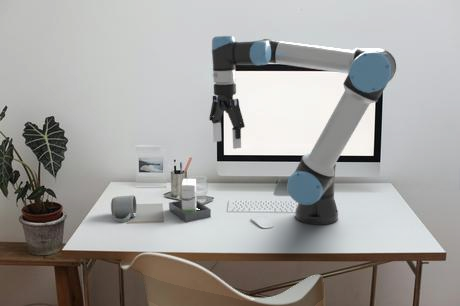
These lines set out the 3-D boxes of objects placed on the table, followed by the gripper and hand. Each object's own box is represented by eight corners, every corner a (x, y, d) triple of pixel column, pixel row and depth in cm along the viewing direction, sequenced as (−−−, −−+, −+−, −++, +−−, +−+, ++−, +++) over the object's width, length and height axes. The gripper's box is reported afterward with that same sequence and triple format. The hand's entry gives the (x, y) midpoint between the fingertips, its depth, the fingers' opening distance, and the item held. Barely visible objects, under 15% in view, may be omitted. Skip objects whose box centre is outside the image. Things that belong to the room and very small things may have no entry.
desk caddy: (193, 205, 216) (193, 198, 215) (210, 217, 204) (210, 209, 203) (169, 210, 211) (169, 202, 210) (185, 222, 199) (185, 214, 198)
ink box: (195, 216, 203) (195, 185, 200) (181, 216, 203) (181, 185, 200) (196, 208, 212) (196, 178, 209) (183, 208, 212) (182, 178, 209)
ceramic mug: (114, 212, 209) (113, 192, 207) (137, 212, 209) (136, 192, 207) (109, 223, 198) (108, 202, 196) (132, 223, 198) (131, 202, 196)
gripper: (198, 81, 200) (201, 140, 205) (233, 87, 178) (236, 152, 183) (216, 79, 203) (219, 137, 208) (253, 84, 182) (255, 149, 187)
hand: (227, 144), depth 196 cm, fingers open, 13 cm apart
